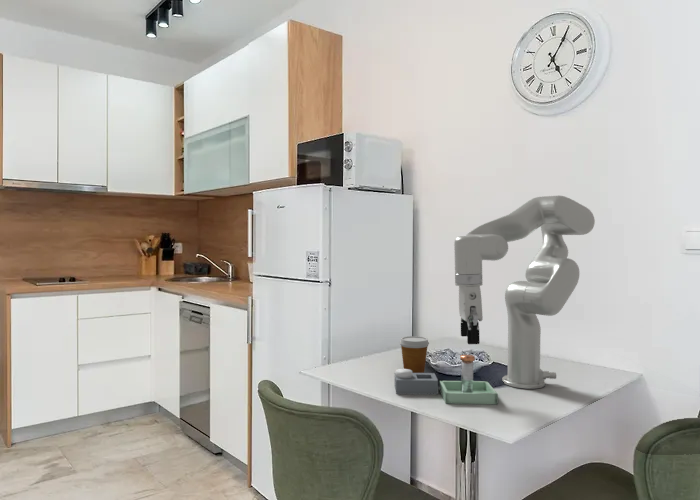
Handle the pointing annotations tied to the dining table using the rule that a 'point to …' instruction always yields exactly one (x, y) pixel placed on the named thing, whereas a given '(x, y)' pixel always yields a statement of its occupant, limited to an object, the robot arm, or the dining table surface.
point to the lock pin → (467, 373)
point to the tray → (480, 394)
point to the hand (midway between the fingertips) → (469, 339)
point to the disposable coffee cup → (414, 353)
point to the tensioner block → (415, 382)
